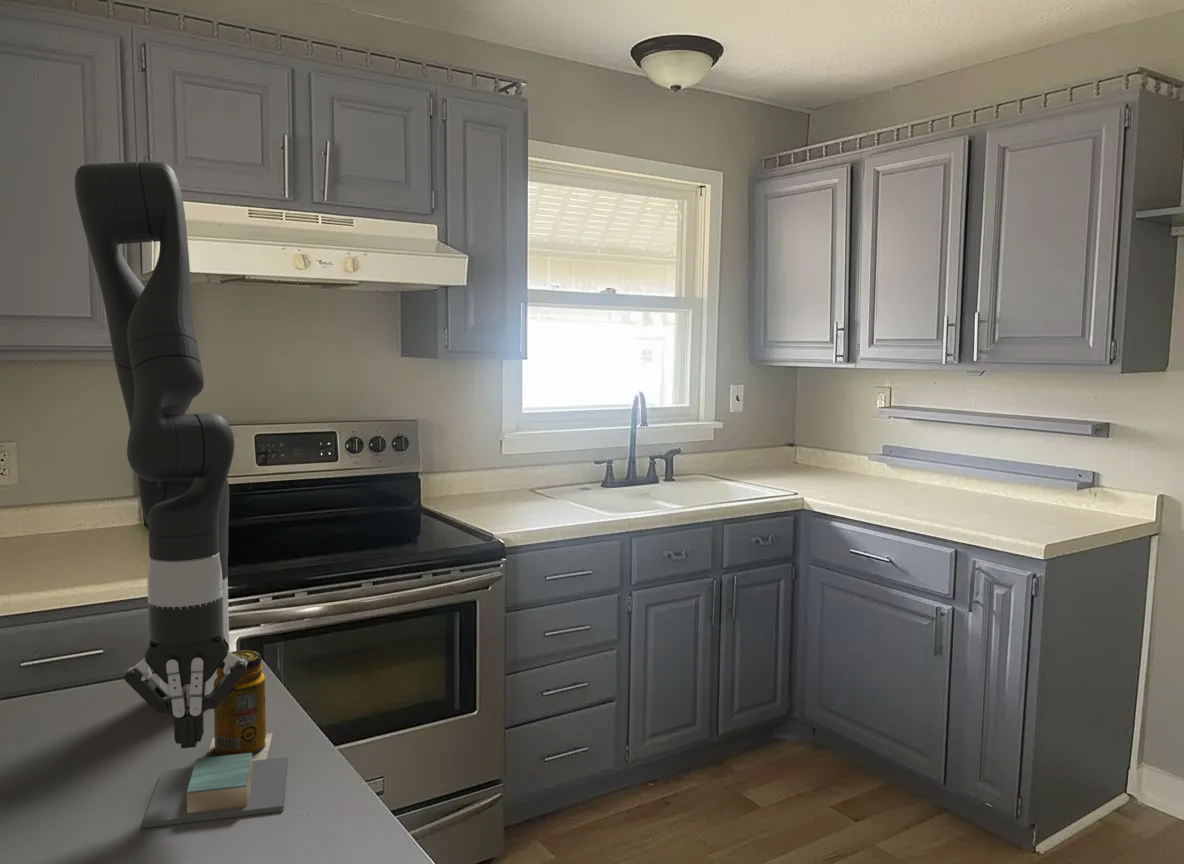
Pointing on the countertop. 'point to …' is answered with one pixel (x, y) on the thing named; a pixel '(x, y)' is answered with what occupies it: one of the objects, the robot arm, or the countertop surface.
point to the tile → (220, 782)
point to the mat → (262, 799)
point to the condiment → (242, 713)
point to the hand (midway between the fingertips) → (189, 744)
